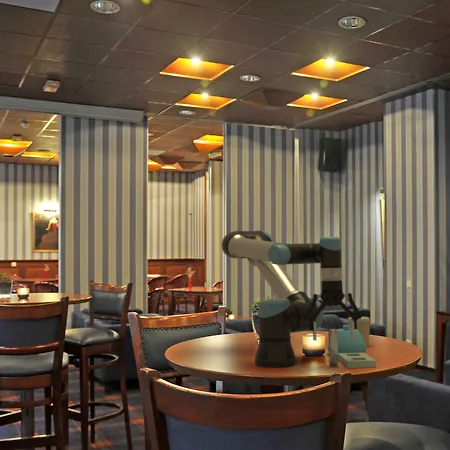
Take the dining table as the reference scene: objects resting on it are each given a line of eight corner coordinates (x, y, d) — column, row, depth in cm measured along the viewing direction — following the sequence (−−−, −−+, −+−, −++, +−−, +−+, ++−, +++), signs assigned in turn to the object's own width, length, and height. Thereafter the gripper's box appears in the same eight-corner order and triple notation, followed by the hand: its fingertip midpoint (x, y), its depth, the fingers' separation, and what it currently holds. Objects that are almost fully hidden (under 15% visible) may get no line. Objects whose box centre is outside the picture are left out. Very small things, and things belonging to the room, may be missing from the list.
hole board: (348, 368, 209) (347, 361, 209) (337, 359, 225) (337, 353, 225) (376, 367, 210) (376, 360, 210) (364, 359, 226) (363, 352, 226)
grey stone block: (330, 367, 212) (329, 330, 212) (328, 365, 215) (327, 329, 216) (339, 366, 212) (338, 330, 213) (337, 365, 215) (336, 328, 216)
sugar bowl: (337, 350, 246) (336, 322, 247) (372, 353, 238) (371, 324, 238) (321, 356, 234) (320, 326, 235) (357, 359, 225) (356, 328, 226)
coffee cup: (375, 346, 254) (374, 317, 254) (360, 348, 249) (359, 319, 249) (359, 343, 262) (358, 316, 262) (343, 345, 256) (343, 317, 257)
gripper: (298, 281, 211) (300, 342, 209) (368, 279, 211) (371, 339, 210) (295, 280, 218) (297, 339, 217) (363, 278, 219) (365, 336, 218)
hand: (333, 339), depth 214 cm, fingers open, 13 cm apart
